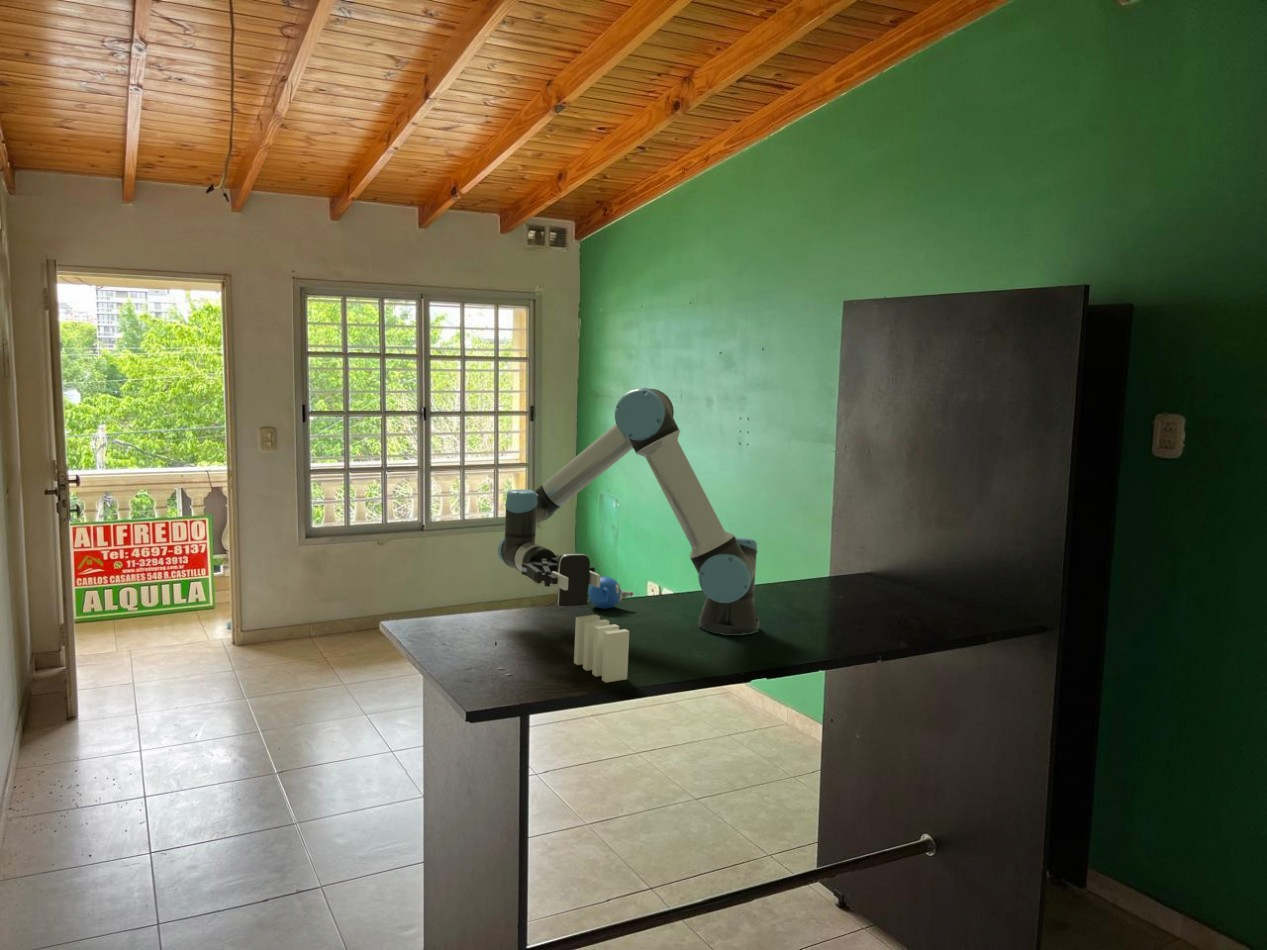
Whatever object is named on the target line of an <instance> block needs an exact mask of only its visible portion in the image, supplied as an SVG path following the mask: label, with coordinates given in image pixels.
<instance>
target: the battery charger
mask: <svg viewBox="0 0 1267 950" xmlns="http://www.w3.org/2000/svg"><path fill="white" fill-rule="evenodd" d="M557 559H558V561H557V573H559V574H562V575H564V576H566V577H568V590H563V589H561V588H559V587H557V597H556V598H557V599H556V603H557V605H558V607H576V606H578V607H580V606H587V605H588V604H589V603H588V599H589V598H588V597H589V587H590V584H589V576H590V566H591V560H590V558H589V557H588V555H587V554H584V553H582V552H581V553H580V552H570V553H569V552H567V553H565V552H564V553H562V554H560V555H559V556H558V557H557Z"/></svg>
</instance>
